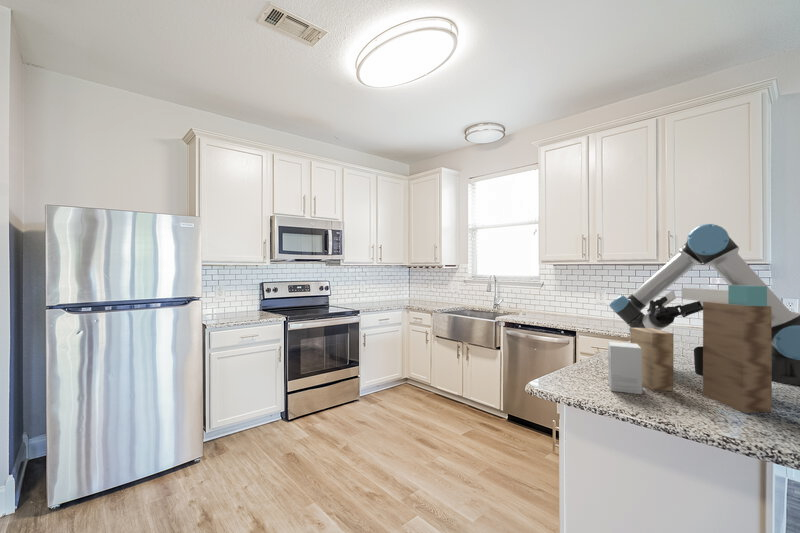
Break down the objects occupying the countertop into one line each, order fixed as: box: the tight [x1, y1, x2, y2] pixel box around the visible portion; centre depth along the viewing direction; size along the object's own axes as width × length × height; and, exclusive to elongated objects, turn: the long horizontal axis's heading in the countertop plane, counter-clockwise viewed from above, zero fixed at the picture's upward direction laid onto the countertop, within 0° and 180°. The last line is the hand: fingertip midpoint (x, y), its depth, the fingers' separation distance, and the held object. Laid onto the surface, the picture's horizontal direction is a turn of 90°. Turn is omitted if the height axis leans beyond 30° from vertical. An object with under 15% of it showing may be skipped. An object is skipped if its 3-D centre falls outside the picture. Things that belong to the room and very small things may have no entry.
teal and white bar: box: [681, 284, 768, 306], centre depth 117 cm, size 26×6×6 cm, turn 179°
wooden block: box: [629, 327, 674, 392], centre depth 128 cm, size 7×12×19 cm, turn 178°
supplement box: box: [607, 341, 643, 395], centre depth 123 cm, size 9×9×15 cm
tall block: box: [702, 302, 773, 413], centre depth 111 cm, size 8×14×30 cm, turn 178°
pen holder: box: [693, 345, 703, 376], centre depth 142 cm, size 9×9×10 cm
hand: (694, 294), depth 126 cm, fingers open, 13 cm apart
